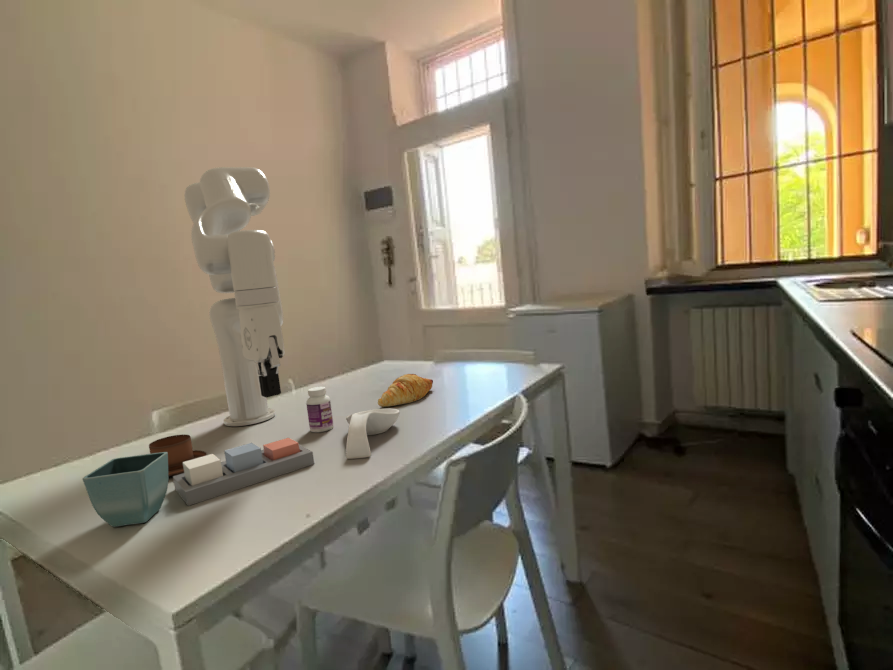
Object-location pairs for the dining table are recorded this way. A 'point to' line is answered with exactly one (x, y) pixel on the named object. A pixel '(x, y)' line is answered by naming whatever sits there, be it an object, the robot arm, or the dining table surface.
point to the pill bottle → (319, 410)
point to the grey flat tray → (241, 477)
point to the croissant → (405, 390)
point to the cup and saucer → (176, 451)
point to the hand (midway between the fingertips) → (271, 395)
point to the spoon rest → (367, 429)
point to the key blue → (243, 457)
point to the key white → (202, 469)
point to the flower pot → (129, 488)
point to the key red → (281, 448)
